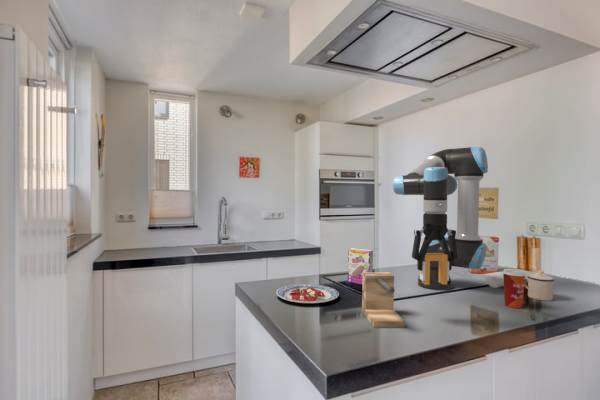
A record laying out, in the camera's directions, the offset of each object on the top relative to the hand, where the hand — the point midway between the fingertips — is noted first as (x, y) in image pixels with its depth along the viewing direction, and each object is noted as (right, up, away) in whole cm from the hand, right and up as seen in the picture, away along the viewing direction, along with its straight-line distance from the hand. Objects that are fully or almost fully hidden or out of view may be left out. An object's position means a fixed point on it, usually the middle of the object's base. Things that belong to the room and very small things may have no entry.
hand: (434, 279), depth 112 cm
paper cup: (+38, -15, +16) cm, 44 cm away
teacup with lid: (+56, -15, +29) cm, 65 cm away
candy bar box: (-17, -13, +47) cm, 52 cm away
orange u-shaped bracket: (0, -1, 0) cm, 1 cm away
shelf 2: (+59, -15, +51) cm, 79 cm away
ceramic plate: (-43, -13, +24) cm, 51 cm away
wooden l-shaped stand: (-18, -13, +1) cm, 22 cm away
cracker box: (+58, -14, +74) cm, 96 cm away
